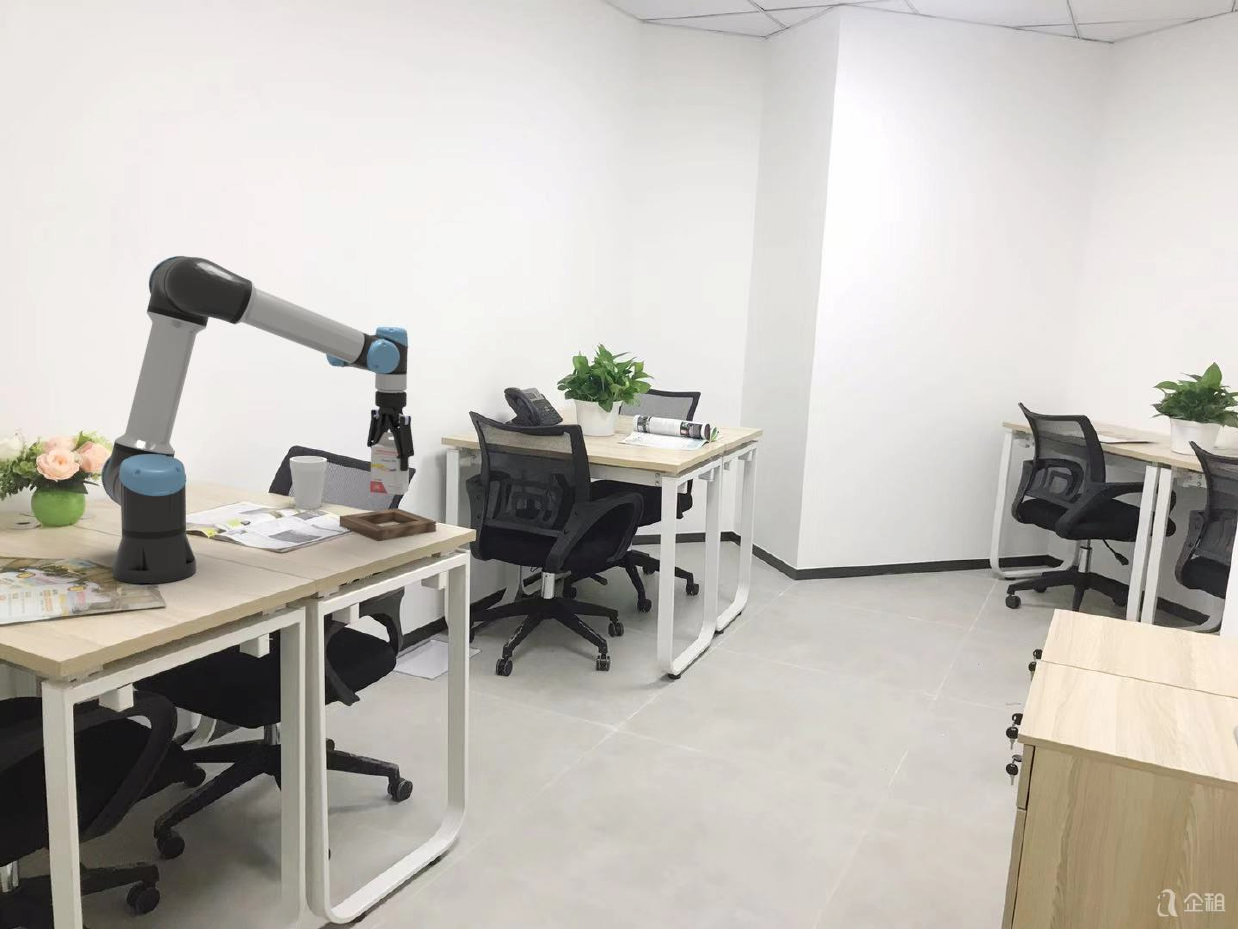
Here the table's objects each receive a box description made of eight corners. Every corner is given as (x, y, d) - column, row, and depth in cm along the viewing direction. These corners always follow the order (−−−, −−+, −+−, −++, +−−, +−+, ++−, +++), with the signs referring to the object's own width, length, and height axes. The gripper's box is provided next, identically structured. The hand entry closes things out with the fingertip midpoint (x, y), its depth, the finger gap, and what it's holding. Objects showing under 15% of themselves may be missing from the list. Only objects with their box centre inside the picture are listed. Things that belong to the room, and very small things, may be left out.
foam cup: (288, 503, 256) (288, 456, 253) (323, 502, 260) (323, 455, 257) (291, 511, 247) (292, 462, 245) (328, 509, 251) (328, 462, 249)
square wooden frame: (377, 541, 224) (378, 530, 224) (339, 526, 236) (339, 516, 235) (435, 531, 237) (436, 521, 236) (396, 517, 248) (397, 508, 248)
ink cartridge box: (369, 492, 233) (370, 433, 230) (376, 488, 238) (377, 431, 235) (402, 495, 232) (404, 436, 229) (409, 491, 237) (410, 433, 234)
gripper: (430, 395, 226) (428, 486, 230) (378, 385, 240) (377, 470, 244) (404, 396, 220) (402, 489, 224) (352, 386, 235) (352, 473, 239)
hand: (389, 479), depth 234 cm, fingers closed on ink cartridge box, 9 cm apart
